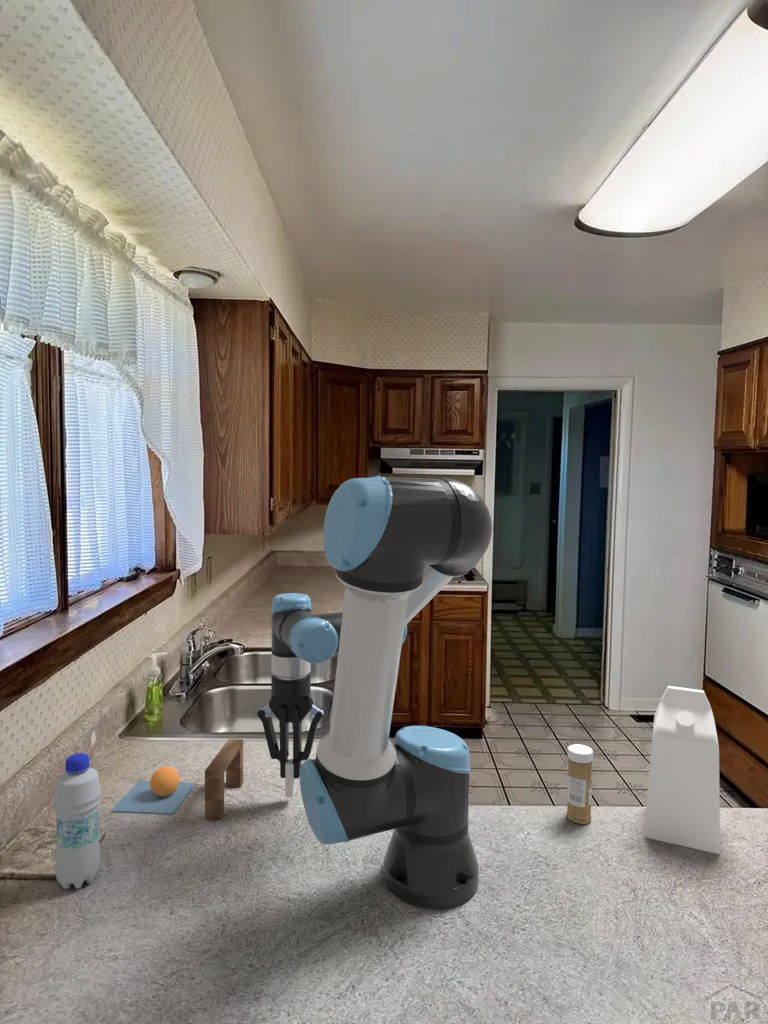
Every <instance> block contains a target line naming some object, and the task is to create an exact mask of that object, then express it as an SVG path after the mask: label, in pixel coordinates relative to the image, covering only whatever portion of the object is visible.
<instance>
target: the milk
mask: <svg viewBox="0 0 768 1024" xmlns="http://www.w3.org/2000/svg"><path fill="white" fill-rule="evenodd" d="M660 699H661V700H660V701H659V703H658V706H657V708H656V710H655V713H654V716H653V727H652V738H651V739H652V740H651V750H650V761H649V770H648V771H649V774H648V785H647V786H648V787H647V795H646V807H645V808H646V809H645V820H644V821H645V822H644V832H643V833H644V834H643V838H647V839H651V840H655V841H661V842H665V843H668V844H674V845H678V846H682V847H687V848H690V849H695V850H700V851H703V852H708V853H713V854H717V855H721V838H720V837H721V836H720V835H721V832H720V831H721V829H720V828H721V823H720V821H721V819H720V818H721V816H720V815H721V814H720V801H721V800H720V746H719V745H720V744H719V738H718V734H717V733H718V732H717V726H716V721H715V716H714V712H713V710H712V707H711V704H710V702H709V700H708V697H707V695H706V692H705V690H704V689H703V690H702V689H696V688H695V689H694V688H690V687H688V688H687V687H680V686H673V685H668V686H667V687H666V689H665V691H664V692H663V694H662V697H661V698H660Z"/></svg>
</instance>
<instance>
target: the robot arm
mask: <svg viewBox="0 0 768 1024" xmlns="http://www.w3.org/2000/svg"><path fill="white" fill-rule="evenodd" d="M322 529H323V532H322V538H323V539H324V542H323V543H324V544H323V551H324V556H325V558H326V560H327V562H328V564H329V565H330V567H332V568H333V569H335V576H336V578H337V579H338V581H339V582H340V583H341V584H342V585H343V586H344V587H345V589H344V598H343V606H342V611H341V612H339V611H338V612H326V613H317V614H315V613H312V611H313V608H312V599H311V596H310V595H308V594H304V593H297V592H288V593H281V594H276V595H275V596H274V597H272V598H273V599H272V600H271V612H270V617H271V663H270V664H271V665H270V669H271V672H270V673H271V674H272V676H271V680H270V682H271V685H270V686H271V687H270V688H271V689H270V690H271V691H270V692H271V693H270V695H271V697H270V700H269V701H268V704H267V705H265V706H260V708H259V710H258V711H257V714H256V715H257V717H258V718H259V719H260V722H261V723H262V727H263V730H264V736H265V738H266V743H267V748H268V752H269V755H270V758H271V759H272V760H276V761H278V762H279V764H280V765H279V767H280V769H279V773H280V774H279V777H280V778H281V779H284V781H285V785H284V786H285V787H284V789H285V790H284V792H285V795H284V796H285V798H293V797H294V796H295V793H296V791H297V788H296V785H297V782H296V781H297V779H299V786H300V793H301V799H302V803H303V807H304V812H305V816H306V819H307V821H308V825H309V826H310V829H311V831H312V833H313V835H314V837H315V838H316V839H317V841H319V843H322V844H323V845H328V846H329V845H334V844H340V843H345V844H347V843H349V842H350V841H354V840H357V839H362V838H365V837H369V836H373V835H376V834H380V833H383V832H384V833H385V832H388V831H392V830H393V832H392V834H391V838H390V840H389V843H388V846H387V849H386V852H385V854H384V857H383V863H382V865H383V866H382V878H383V883H384V886H385V887H386V889H387V890H388V891H389V893H390V894H391V895H392V896H393V897H395V898H396V899H398V900H399V901H401V902H403V903H405V904H408V905H411V906H413V907H416V908H422V909H432V910H441V909H442V910H443V909H449V908H452V907H456V906H459V905H461V904H463V903H465V902H466V901H468V900H470V899H471V898H472V897H473V896H474V895H475V893H476V892H477V890H478V888H479V877H480V876H479V875H480V873H479V871H480V869H479V863H478V860H477V856H476V853H475V850H474V846H473V843H472V840H471V837H470V834H469V833H470V832H469V812H470V811H469V810H470V809H469V806H470V773H471V770H472V769H471V764H470V750H469V749H470V748H469V747H468V745H467V743H466V742H465V741H464V739H462V738H461V737H460V736H459V735H457V734H455V733H453V732H451V731H448V730H446V729H441V728H437V727H434V726H427V725H409V726H404V727H402V728H400V729H399V730H398V731H396V734H395V736H394V742H395V743H392V741H391V740H390V731H391V724H392V717H393V710H394V703H395V696H396V695H395V694H396V688H397V682H398V675H399V668H400V667H399V666H400V660H401V653H402V647H403V645H404V643H405V641H406V637H407V634H408V624H409V623H410V622H411V620H412V619H413V618H414V617H415V616H416V615H418V613H420V611H421V610H423V608H425V607H426V606H427V604H428V603H429V602H430V601H431V600H432V599H434V598H435V596H436V595H437V594H438V593H439V592H440V591H441V590H442V589H443V588H444V587H445V586H446V585H447V584H448V583H449V582H450V581H451V580H452V579H454V578H458V577H462V576H464V575H466V574H468V573H469V572H470V571H471V570H473V568H474V567H476V566H477V564H478V563H479V562H480V561H481V559H482V558H483V557H484V556H485V554H486V552H487V551H488V548H489V546H490V543H491V541H492V533H493V523H492V517H491V513H490V510H489V508H488V505H487V504H486V502H485V501H484V499H483V498H482V496H481V495H480V494H479V493H478V492H477V491H476V490H474V489H473V488H472V487H471V486H469V484H467V483H464V482H462V481H459V480H456V479H452V478H447V477H436V478H435V477H434V478H431V477H430V478H429V477H428V478H427V477H426V478H425V477H398V476H396V477H394V476H380V475H376V476H371V477H358V478H357V477H356V478H350V479H348V480H346V481H344V482H343V483H341V484H340V485H339V486H338V488H337V489H336V490H335V491H334V492H333V495H331V498H330V500H329V503H328V505H327V509H326V512H325V516H324V523H323V528H322ZM335 655H336V656H337V659H336V671H335V678H334V685H333V694H332V695H333V697H332V704H331V706H332V707H331V713H330V722H329V731H328V732H326V733H325V734H324V735H323V736H322V737H321V738H320V739H319V740H318V743H317V745H316V755H315V759H312V758H309V757H310V755H311V753H312V749H313V745H314V741H315V737H316V732H317V729H318V725H319V722H320V720H321V719H322V718H323V715H324V713H325V710H324V708H322V707H321V708H320V707H319V708H318V707H317V706H316V705H314V701H313V699H312V696H311V695H312V694H311V690H312V689H311V686H312V685H311V683H312V682H311V679H312V678H311V674H310V673H311V672H312V670H311V668H312V664H315V665H316V664H322V663H325V662H326V661H328V660H330V659H331V658H332V657H333V656H335ZM309 712H310V719H311V722H310V724H309V730H308V733H307V737H306V741H305V744H304V749H303V748H302V747H303V746H302V744H303V743H302V742H303V741H302V740H303V738H302V736H303V733H302V732H303V730H302V729H303V728H302V727H303V720H304V719H305V718H306V716H307V715H308V714H309ZM272 714H273V715H274V716H275V717H276V718H277V721H278V722H279V725H278V726H279V727H278V728H279V743H278V739H277V738H278V737H277V736H276V731H275V726H274V722H273V718H272ZM290 723H291V724H292V732H293V733H292V757H289V755H290V752H289V747H290V745H289V742H290V741H289V738H290V737H289V735H290V734H289V733H290V732H289V730H290V728H289V727H290ZM302 749H303V751H302ZM302 761H303V762H302Z"/></svg>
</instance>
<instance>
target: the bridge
mask: <svg viewBox="0 0 768 1024" xmlns="http://www.w3.org/2000/svg"><path fill="white" fill-rule="evenodd" d="M243 784H244V739H241V738H228V739H227V741H225V743H224V744H223V746H222V747H221V748H220V750H219V752H218V753H217V754H216V755H215V757H214V758H213V759H212V760H211V762H210V763H209V764H208V766H207V767H206V768H205V770H204V820H205V821H207V820H208V821H209V820H210V821H221V820H222V819H223V817H224V816H225V787H226V788H241V787H242V785H243Z"/></svg>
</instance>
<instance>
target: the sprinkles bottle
mask: <svg viewBox="0 0 768 1024" xmlns="http://www.w3.org/2000/svg"><path fill="white" fill-rule="evenodd" d="M566 756H567V761H568V762H567V763H568V764H567V767H568V768H567V785H566V787H567V789H566V800H567V801H566V802H567V805H566V818H567V819H568V820H569V821H571V822H572V823H575V824H579V825H583V824H584V825H585V824H586V825H587V824H589V823H590V822H591V821H592V809H591V808H592V795H593V794H592V792H593V791H592V790H593V789H592V788H593V787H592V784H593V783H592V773H593V771H592V766H593V760H594V751H593V749H592V748H591V747H589V746H587V745H585V744H579V743H578V744H577V743H575V744H570V745H568V747H567V755H566Z"/></svg>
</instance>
